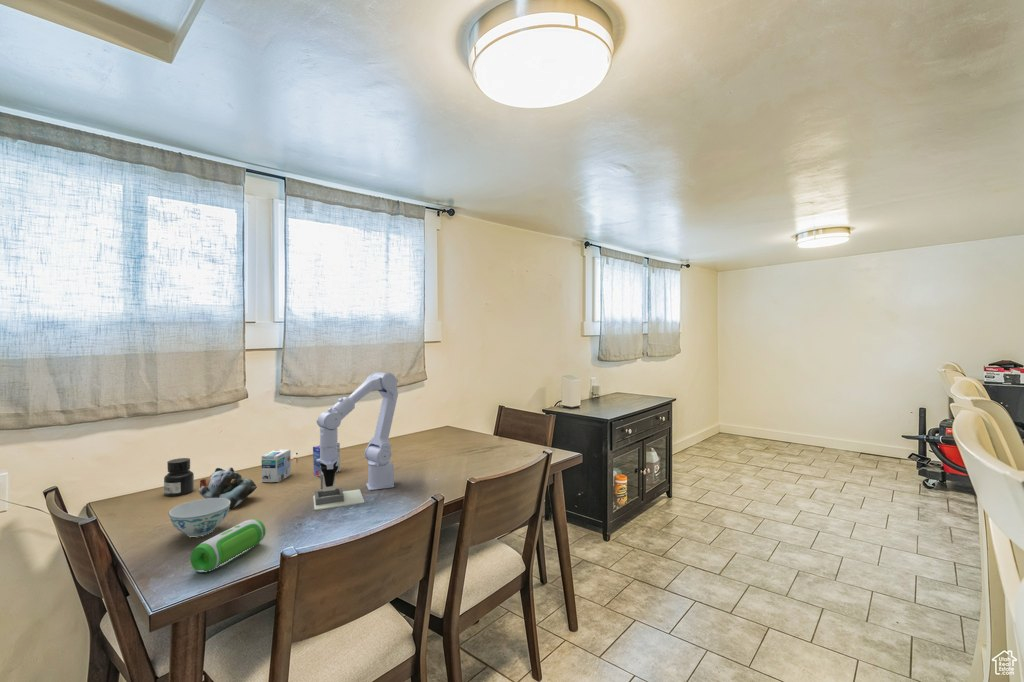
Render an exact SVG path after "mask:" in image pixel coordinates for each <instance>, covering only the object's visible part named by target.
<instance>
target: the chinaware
mask: <svg viewBox="0 0 1024 682" xmlns="http://www.w3.org/2000/svg"><path fill="white" fill-rule="evenodd" d="M229 507H230V500H228V499H225V498H207V499H205V498H200V499H196V500H192V501H188V502H187V501H186V502H184V503H181V504H179V505H176V506H174V507H172V509H170V510H169V512H168V517H169V520H170V522H171V524H172V525H173V527H175V529H176V530H178V531H180V532H181V533H183V534H186V537H188V536H201V535H205V534H208V533H210V532H212V531H213V530H214V531H215V528H217V527H219V525H220V524H221V523H222V522H223V521H224V520H225V519H226V516H227V515H228V513H229V511H230V510H229ZM214 531H213V532H214ZM213 532H212V533H213ZM208 535H209V534H208Z"/></svg>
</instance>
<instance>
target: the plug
mask: <svg viewBox="0 0 1024 682" xmlns="http://www.w3.org/2000/svg"><path fill="white" fill-rule="evenodd" d="M335 489H336V476H335V477H334V482H333V486H330V487H326V484H325V479H324V475H323V472H322V474H321V477H320V490H323V491H331V490H335Z"/></svg>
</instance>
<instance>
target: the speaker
mask: <svg viewBox="0 0 1024 682" xmlns="http://www.w3.org/2000/svg"><path fill="white" fill-rule="evenodd" d="M265 537H266V526H265V524H264V523H263V521H261V520H260V519H258V518H257V519H256V518H253V519H247V520H244V521H242V522H240V523H238V524H236V525H234V526H233V527H230V528H228V529H226V530H224V531H221V532H220V533H218V534H216V535H215V536H212V537H210V538H209V539H208V538H207V540H204V541H203V542H201V543H199V544H198V545H197V546H196V547H195V548H194V549H193V550H192V551H191V553H190V564H191V566H192V568H193V569H194V570H195V571H196V570H204V571H209V570H212V569H214V568H216V567H218V566H219V565H220V564H222V563H224V562H226V561H228V560H229V559H231V558H233V557H235V556H236V555H238V554H240V553H242V552H243V551H245V550H247V549H249V548H251V547H253V546H254V547H256V546H257V545H259V544H260V543H261V541H262V540H264V538H265ZM254 547H253V548H254ZM251 549H252V548H251ZM216 569H217V568H216ZM214 570H215V569H214ZM212 571H213V570H212ZM209 572H210V571H209Z"/></svg>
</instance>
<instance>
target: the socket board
mask: <svg viewBox="0 0 1024 682" xmlns="http://www.w3.org/2000/svg"><path fill="white" fill-rule="evenodd" d="M312 498H313V510H314V511H315V512H316V511H321V510H329V509H335V508H339V507H340V508H342V507H348V506H354V505H355V506H356V505H362V504H365V499H364V497H363V494H362V491H361V489H353V490H344V491H343V487H337V488H336V487H335V490H331V491H323V489H320V490H315V491H314V495H313V496H312Z"/></svg>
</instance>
